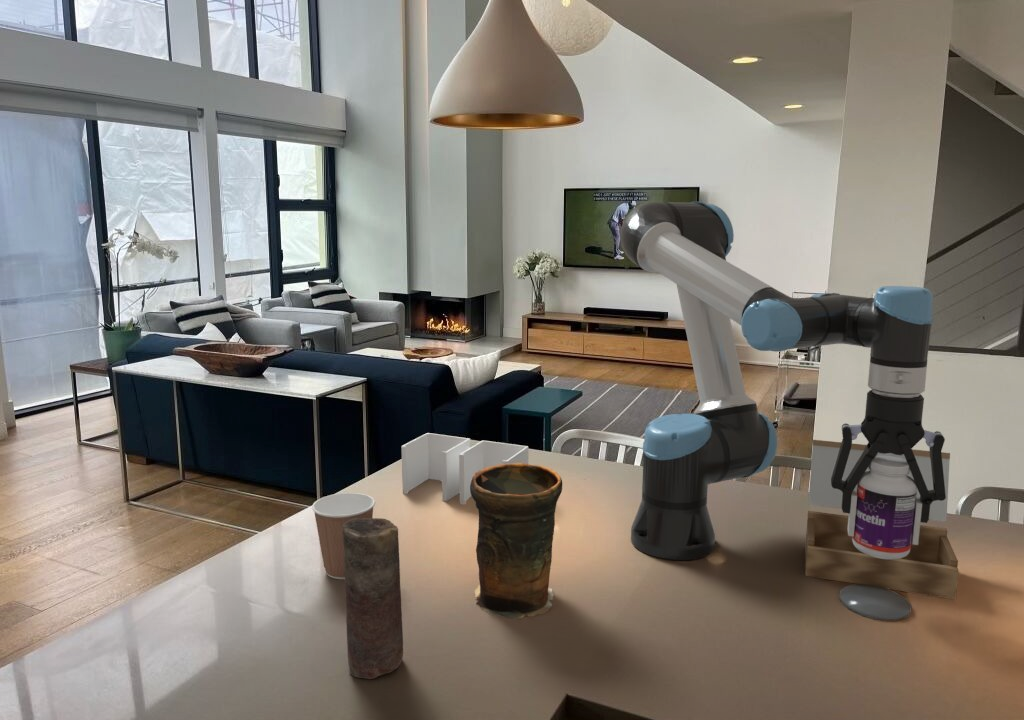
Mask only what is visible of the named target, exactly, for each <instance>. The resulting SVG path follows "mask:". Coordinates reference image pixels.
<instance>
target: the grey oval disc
mask: <svg viewBox="0 0 1024 720" xmlns="http://www.w3.org/2000/svg"><path fill="white" fill-rule="evenodd" d="M839 600H840V602H841V604H842V605H844V606H845V608H847V609H848V610H850V611H852V612H853V613H856V614H858V615H861V616H863V617H867V618H869V619H874V620H881V621H899V620H903V619H906V618H908V617H909V616H910V615H911V611H912V607H911V603H910V601H908V599H906V597H904V596H903V595H901V594H899V593H898V592H895V591H893V590H892V589H887V588H882V587H878V586H873V585H864V584H851V585H847V586H844V587H843V588H841V589H840V591H839Z"/></svg>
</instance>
